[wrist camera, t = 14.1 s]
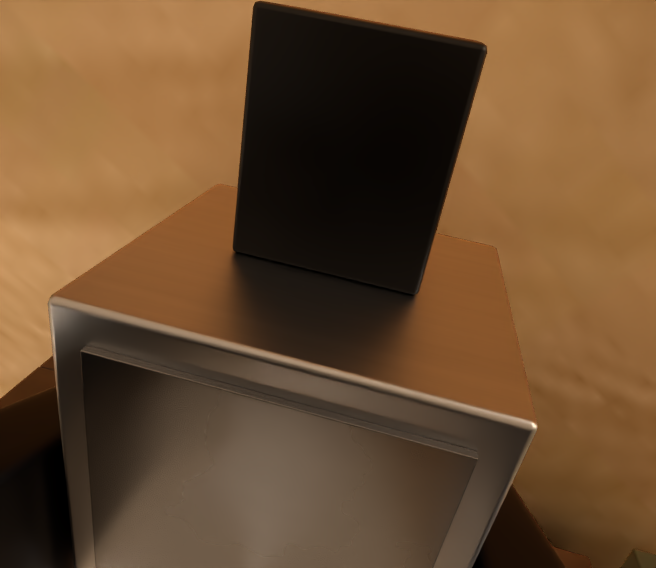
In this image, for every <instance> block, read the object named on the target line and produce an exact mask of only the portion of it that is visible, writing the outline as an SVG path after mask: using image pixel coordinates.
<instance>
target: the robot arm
mask: <svg viewBox="0 0 656 568" xmlns="http://www.w3.org/2000/svg"><path fill="white" fill-rule="evenodd" d="M0 568H75V567H74V557H73V547H72V538H71V528H70V518H69V508H68V498H67V488H66V478H65V469H64V459H63V449H62V439H61V429H60V419H59V409H58V400H57V390H56V386H54V387H52V388H49V389H47V390H44V391H42V392H39V393H37V394H35V395H32V396H30V397H27V398H25V399H22V400H20V401H17V402H15V403H12V404H10V405H7V406H5V407H2V408H0ZM472 568H566V567H565V565H564V564H563V562H562V560H561V559H560V557H559V556H558V554H557V553H556V551H555V550H554V548H553V547H552V545H551V544H550V542H549V540H548V539H547V537H546V536H545V534H544V533H543V531H542V530H541V528H540V527H539V525H538V524H537V522H536V520H535V519H534V517H533V516H532V514H531V513H530V511H529V510H528V508H527V507H526V505H525V504H524V502H523V500H522V499H521V497H520V496H519V494H518V493H517V491H516V490H515V488H514V487H513V485H512V484H511V486H510V488H509V491H508V493H507V495H506V497H505V499H504V501H503V503H502V505H501V507H500V510H499V512H498V514H497V516H496V518H495V520H494V522H493V524H492V526H491V529H490V531H489V533H488V535H487V537H486V539H485V541H484V543H483V545H482V548H481V550H480V552H479V554H478V556H477V558H476V560H475V562H474V564H473V567H472Z"/></svg>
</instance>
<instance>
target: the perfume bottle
mask: <svg viewBox="0 0 656 568" xmlns="http://www.w3.org/2000/svg"><path fill="white" fill-rule="evenodd" d="M486 54H487V46H486V45H485V44H483V43H481V42H478V41H475V40H470V39H464V38H459V37H454V36H448V35H443V34H438V33H433V32H427V31H422V30H417V29H411V28H406V27H401V26H395V25H390V24H385V23H380V22H374V21H369V20H364V19H358V18H353V17H348V16H342V15H337V14H332V13H327V12H321V11H316V10H311V9H305V8H300V7H295V6H289V5H283V4H276V3H270V2H264V1H258V2H255V4H254V6H253V15H252V27H251V38H250V50H249V61H248V73H247V84H246V96H245V108H244V119H243V131H242V142H241V154H240V165H239V177H238V188H236V187H232V186H228V185H223V184H217V185H215V186H214V187H212V188H211V189H209V190H208V191H206V192H205V193H203V194H202V195H200V196H199V197H197V198H196V199H194V200H193V201H191V202H190V203H188V204H187V205H185V206H184V207H182V208H181V209H179V210H178V211H176V212H175V213H173V214H172V215H171V216H169V217H168V218H166V219H165V220H163V221H162V222H160V223H159V224H157V225H156V226H154V227H153V228H151V229H150V230H148V231H147V232H145V233H144V234H142V235H141V236H139V237H138V238H136V239H135V240H133V241H132V242H130V243H129V244H127V245H126V246H124V247H123V248H121V249H120V250H118V251H117V252H115V253H114V254H112V255H111V256H109V257H108V258H106V259H105V260H103V261H102V262H100V263H99V264H97V265H96V266H94V267H93V268H91V269H90V270H88V271H87V272H85V273H84V274H82V275H81V276H79V277H78V278H76V279H75V280H74V281H72V282H71V283H69V284H68V285H66V286H65V287H63V288H62V289H60V290H59V291H57V292H56V293H54V294H53V295H51V297H50V298H49V301H48V311H49V321H50V331H51V340H52V350H53V360H54V370H55V380H56V390H57V400H58V409H59V419H60V429H61V439H62V449H63V459H64V469H65V478H66V488H67V498H68V508H69V518H70V528H71V538H72V547H73V557H74V567H75V568H472V567H473V564H474V562H475V560H476V558H477V556H478V554H479V552H480V550H481V548H482V545H483V543H484V541H485V539H486V537H487V535H488V533H489V531H490V529H491V526H492V524H493V522H494V520H495V518H496V516H497V514H498V512H499V510H500V507H501V505H502V503H503V501H504V499H505V497H506V495H507V493H508V491H509V488H510V486H511V484H512V482H513V480H514V478H515V476H516V474H517V472H518V469H519V467H520V465H521V463H522V461H523V459H524V457H525V455H526V453H527V450H528V448H529V446H530V444H531V442H532V440H533V438H534V436H535V433H536V431H537V429H538V426H537V419H536V415H535V411H534V407H533V402H532V398H531V394H530V390H529V385H528V381H527V377H526V372H525V368H524V364H523V360H522V355H521V351H520V347H519V343H518V338H517V334H516V330H515V326H514V321H513V317H512V313H511V308H510V304H509V300H508V296H507V291H506V287H505V283H504V279H503V274H502V270H501V266H500V262H499V257H498V253H497V249H496V248H495V247H493V246H489V245H485V244H481V243H476V242H472V241H468V240H463V239H459V238H454V237H450V236H446V235H441V234H437V233H436V230H437V227H438V223H439V220H440V216H441V213H442V209H443V206H444V202H445V199H446V195H447V191H448V188H449V184H450V181H451V177H452V174H453V170H454V167H455V163H456V160H457V156H458V153H459V149H460V146H461V142H462V139H463V135H464V131H465V128H466V124H467V121H468V117H469V114H470V110H471V107H472V103H473V100H474V96H475V93H476V89H477V86H478V82H479V79H480V75H481V72H482V68H483V64H484V61H485V57H486Z"/></svg>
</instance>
